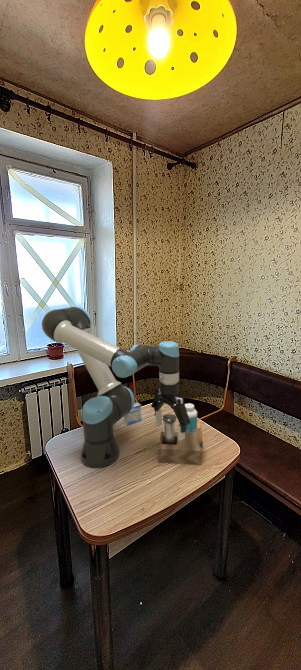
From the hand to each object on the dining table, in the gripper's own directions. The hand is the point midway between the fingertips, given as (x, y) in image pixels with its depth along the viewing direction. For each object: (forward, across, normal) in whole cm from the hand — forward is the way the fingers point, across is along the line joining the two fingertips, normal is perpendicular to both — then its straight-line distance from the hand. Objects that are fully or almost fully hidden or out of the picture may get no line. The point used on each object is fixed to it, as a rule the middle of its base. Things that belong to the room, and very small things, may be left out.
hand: (169, 431), depth 108 cm
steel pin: (+10, 0, 0) cm, 10 cm away
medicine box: (+10, -31, +3) cm, 33 cm away
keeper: (0, +8, +8) cm, 11 cm away
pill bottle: (+10, -6, +17) cm, 20 cm away
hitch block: (+10, +3, +3) cm, 10 cm away
